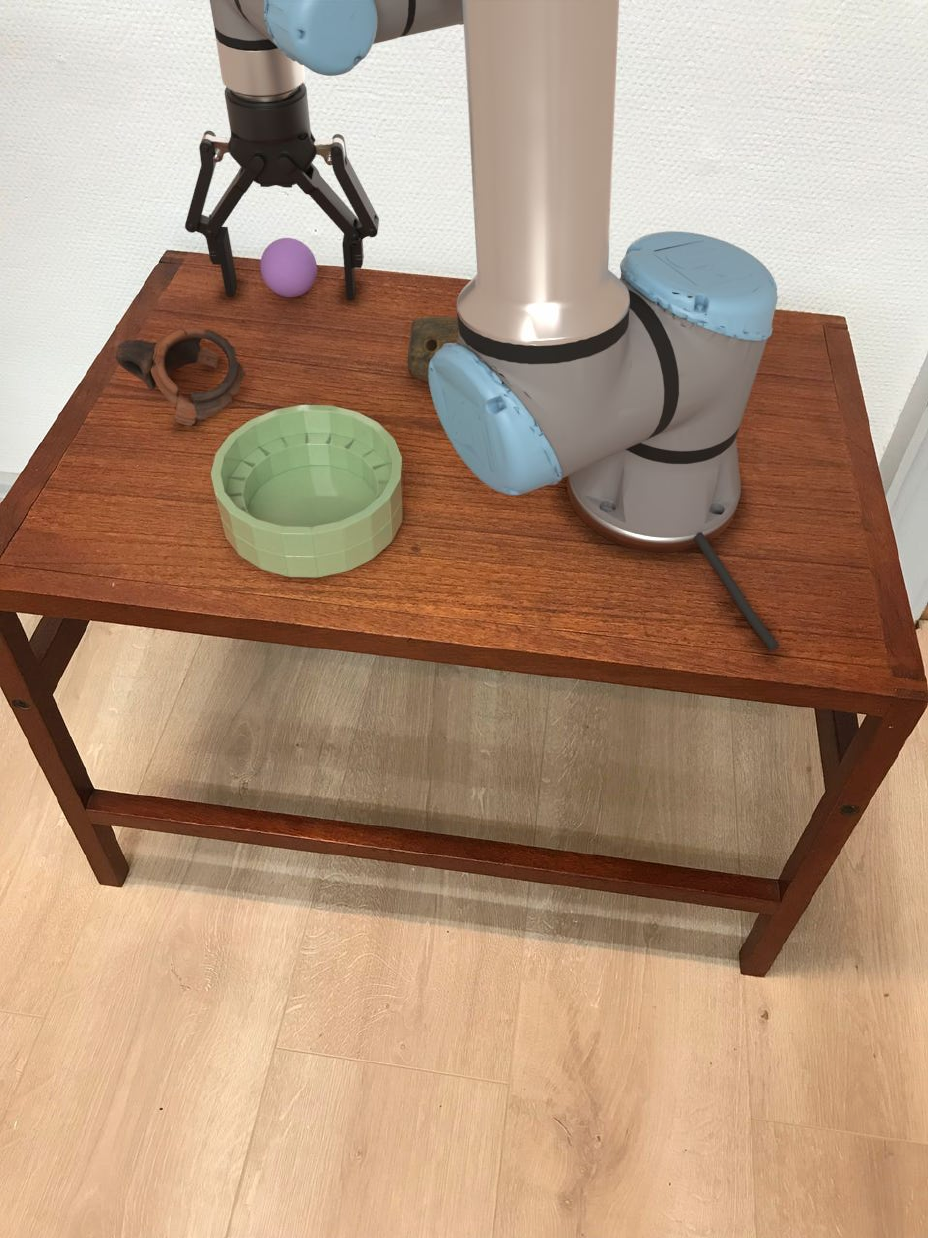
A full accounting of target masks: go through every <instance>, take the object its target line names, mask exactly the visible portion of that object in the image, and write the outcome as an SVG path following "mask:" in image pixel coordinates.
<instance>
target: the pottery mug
mask: <svg viewBox="0 0 928 1238" xmlns="http://www.w3.org/2000/svg"><path fill="white" fill-rule="evenodd" d="M202 339H203V340H206V341H207V340H208V341H210V342H212V343H214V344H215V345H217V346H218V347H219V348H220V349H221V350H222V352H223V353H224V354H225V357H226V358H227V363H228V370H227V374H226V376H225V378H224V379H223V380H222V382H221V383H219V384H218V385H217V386H215V387H214V388H212V389H210V390H206V391H197V392H196V391H191V392H190V397H191V398H189V397H185V396H183V395H182V394H181V393H180V386H178V385H177V383H175V382H174V381H173V380H172V379H171V377H170V376H171V375H172V374H173V373H174V372H175V371H177V370H179V369H181V368H183V367H185V366H187V365H192V364H198V365H204V366H208V367H211V368H213V369H217V368H218V367H219V359H220V353H219V352H216V351H214V350H211V349H209V348H207V347H205V346H201V342H202ZM236 355H237V352H236V349H235V347H234V345H232V344H231V343H230V342H229V340H228V339H227V338H226V337H224V336H222V335H221V334H219V333H217V332H215V331H213V330H211V329H205V328H202V327H185V328H183V329H182V328H180V329H177V330H175V331H173V332H171V333H169V334H167V335H166V336H164V337H163V338H161V339H160V340H158V341H157V342H150V341H146V340H140V339H126V340H125V341H124V340H123V341H121V343H119V344H117V349H116V352H115V356H114V357H115V358H114V359H115V360H116V361H117V363H118V364H119V366H120V367H122V369H124V370H125V371H126V372H128V373H130V374H131V375H133V376H135V377H137V378H139V380H142V382H143V383H145V385H146V388H148V389H149V390H150V391H154V390H155V389H156V386H157V388H158V390H159V391H160V392H161V394H162V395H163V396H164V398H165V399H166V400H167V401H169V402H170V403H171V404H172V405H173V406H175V414H174V416H173V418H174V420H175V422H176V423H177V424H180V425H184V426H187V427H192V426H193V425H195V424H196V422H197V421H204V420H206V419H208V418H210V417H212V416H214V415H215V414H217V413H220V412H221V411H223V410H224V409H226V408H227V407H229V406H230V405H231V404H232V403H233V402H234V399H233V397H234V396H238V394H239V392H240V389H241V385H242V382H243V379H244V377H245V376H246V374H247V371H246V370H245V368H244V367H243V365H242V364H241V363H240V362H239V361H238V358H237V356H236Z"/></svg>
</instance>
